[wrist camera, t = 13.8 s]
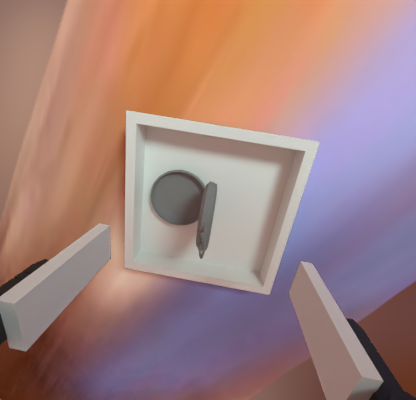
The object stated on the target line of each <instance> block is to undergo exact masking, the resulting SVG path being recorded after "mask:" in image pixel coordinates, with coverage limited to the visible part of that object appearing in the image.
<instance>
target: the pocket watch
mask: <svg viewBox="0 0 416 400" xmlns="http://www.w3.org/2000/svg"><path fill="white" fill-rule="evenodd" d="M150 196H151V203H152V206H153V208H154V210H155V212H156V213H157V214H158V215H159V216H160V217H161V218H162V219H163V220H165V221H166V222H168V223H170V224H174V225H189V224H192V223H195V222H196V221H197V220H198V227H197V235H196V246H197V247H198V250H199V257H200V259H202V258H203V256H204V253H205V250H207V248H208V244H209V239H210V234H211V228H212V222H213V215H214V209H215V203H216V196H217V184H215V183H214V182H210V181H209V183H208V184H207V185H206V186H205V185H204V183H203V182H202V181H201V180H200V179H199V177H197V176H196V175H194V174H193V173H191V172H188V171H185V170H172V171H168V172H166V173H164V174H162V175H161V176H159V177H158V178H157V179H156V181H155V182H154V184H153V186H152V189H151V195H150ZM201 251H202V254H201Z"/></svg>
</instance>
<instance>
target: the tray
mask: <svg viewBox="0 0 416 400" xmlns="http://www.w3.org/2000/svg"><path fill="white" fill-rule="evenodd" d="M319 143H320V142H318V141H312V140H306V139H300V138H293V137H287V136H281V135H275V134H269V133H263V132H256V131H250V130H244V129H238V128H232V127H226V126H220V125H213V124H207V123H201V122H195V121H189V120H183V119H176V118H170V117H164V116H158V115H152V114H146V113H139V112H133V111H127V110H126V171H125V249H124V268H128V269H133V270H138V271H144V272H149V273H154V274H160V275H165V276H170V277H176V278H181V279H186V280H192V281H197V282H203V283H208V284H213V285H219V286H224V287H229V288H235V289H240V290H245V291H251V292H256V293H261V294H267V295H270V292H271V289H272V286H273V283H274V280H275V276H276V273H277V270H278V267H279V264H280V261H281V258H282V255H283V252H284V249H285V246H286V243H287V240H288V237H289V234H290V231H291V228H292V225H293V222H294V219H295V216H296V213H297V210H298V207H299V204H300V201H301V198H302V195H303V192H304V189H305V186H306V183H307V180H308V177H309V174H310V171H311V168H312V165H313V162H314V159H315V156H316V152H317V149H318V146H319ZM172 170H185V171H188V172H191V173H193V174H194V175H196V176H197V177H199V179H200V180H201V181H202V182H203V183H204V185H205V186H206V185H207V184H208V183H209V181H210V182H214V183H215V184H217V196H216V203H215V209H214V215H213V222H212V228H211V234H210V239H209V244H208V248H207V250H205V253H204V256H203V258H202V259H200V257H199V250H198V247H197V246H196V235H197V227H198V220H197V221H196V222H195V223H192V224H189V225H174V224H170V223H168V222H166V221H165V220H163V219H162V218H161V217H160V216H159V215H158V214H157V213H156V212H155V210H154V208H153V206H152V203H151V196H150V195H151V189H152V186H153V184H154V182H155V181H156V179H157V178H158V177H159V176H161V175H162V174H164V173H166V172H168V171H172ZM201 254H202V251H201Z"/></svg>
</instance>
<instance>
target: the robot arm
mask: <svg viewBox="0 0 416 400" xmlns="http://www.w3.org/2000/svg"><path fill="white" fill-rule="evenodd" d="M110 259H111V245H110V225H106V224H101V223H99V224H98V225H96V226H95V227H94V228H92V229H91V230H90V231H88V232H87V233H86V234H84V235H83V236H82V237H80V238H79V239H77V240H76V241H75V242H73V243H72V244H71V245H69V246H68V247H67V248H65V249H64V250H63V251H61V252H60V253H58V254H57V255H56V256H54V257H53V258H52V259H50V260H46V259H44V260H42V261H39V262H37V263H35V264H33V265H31V266H30V267H28V268H27V269H25V270H24V271H23V272H22V273H20V274H18V275H17V276H15V277H14V279H11V280H10V281H8V282H7V283H5V284H4V285H2V286H1V287H0V344H1V343H3V342H4V341H5V340H6V339H7V341H8V345H9V348H12V349H17V350H21V351H27V350H28V349H29V348H30V347H31V346H32V344H33V343H34V342H35V341H36V340H37V339H38V338H39V337H40V336H41V335H42V333H43V332H44V331H45V330H46V329H47V328H48V327H49V326H50V325H51V324H52V322H53V321H54V320H55V319H56V318H57V317H58V316H59V315H60V314H61V313H62V311H63V310H64V309H65V308H66V307H67V306H68V305H69V304H70V303H71V301H72V300H73V299H74V298H75V297H76V296H77V295H78V294H79V293H80V292H81V290H82V289H83V288H84V287H85V286H86V285H87V284H88V283H89V282H90V281H91V279H92V278H93V277H94V276H95V275H96V274H97V273H98V272H99V271H100V270H101V268H102V267H103V266H104V265H105V264H106V263H107V262H108V261H109V260H110ZM289 295H290V298H291V301H292V304H293V307H294V309H295V312H296V315H297V318H298V321H299V324H300V326H301V329H302V332H303V335H304V338H305V340H306V343H307V346H308V349H309V352H310V355H311V357H312V360H313V363H314V366H315V369H316V371H317V374H318V377H319V380H320V382H321V386H322V388H323V391H324V393H325V397H326V400H416V398H415V397H413V396H411V395H410V394H408V393H407V392H404V391H403V390H402V388H401V386H400V385H399V383H398V382H397V380H396V379H395V377H394V376H393V374H392V373H391V371H390V370H389V368H388V367H387V365H386V364H385V362H384V361H383V359H382V358H381V356H380V355H379V353H378V352H377V350H376V348H375V347H374V345H373V344H372V343H371V342H370V340H369V338H368V336H367V335H366V333H365V332H364V330H363V329H362V328H361V327H360V326H359V325H358V324H357V323H356V322H355V321H354V320H352V319H347V318H345V317H344V315H343V313H342V312H341V310H340V308H339V307H338V305H337V303H336V302H335V300H334V298H333V297H332V295H331V293H330V292H329V290H328V288H327V287H326V285H325V284H324V282H323V280H322V279H321V277H320V275H319V274H318V272H317V270H316V269H315V267H314V265H313V264H312V263H308V262H303V261H301V262H300V264H299V267H298V269H297V272H296V275H295V277H294V280H293V283H292V285H291V288H290V291H289Z"/></svg>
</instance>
